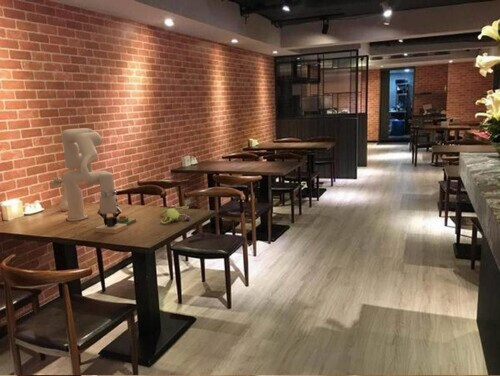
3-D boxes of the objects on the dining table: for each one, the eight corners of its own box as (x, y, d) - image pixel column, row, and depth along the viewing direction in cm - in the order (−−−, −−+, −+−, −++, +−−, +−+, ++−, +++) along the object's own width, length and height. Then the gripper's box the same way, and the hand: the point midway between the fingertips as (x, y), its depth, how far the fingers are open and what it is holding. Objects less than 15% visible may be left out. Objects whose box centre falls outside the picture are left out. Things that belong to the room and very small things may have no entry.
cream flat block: (95, 232, 243) (94, 227, 243) (107, 226, 254) (107, 222, 253) (115, 233, 239) (115, 229, 238) (127, 228, 249) (126, 223, 248)
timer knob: (105, 227, 244) (104, 218, 243) (108, 224, 248) (108, 216, 247) (113, 226, 243) (112, 218, 242) (116, 224, 248) (115, 216, 247)
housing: (109, 225, 257) (109, 219, 256) (119, 220, 266) (119, 215, 266) (126, 226, 253) (125, 220, 253) (136, 221, 262) (135, 216, 262)
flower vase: (62, 207, 310) (58, 173, 306) (82, 208, 304) (78, 174, 299) (48, 211, 298) (43, 176, 294) (69, 213, 292) (64, 177, 287)
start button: (118, 219, 258) (118, 216, 258) (121, 217, 261) (121, 214, 261) (123, 219, 257) (123, 216, 257) (126, 217, 260) (126, 215, 260)
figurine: (188, 212, 282) (188, 204, 281) (191, 222, 256) (191, 213, 255) (160, 214, 279) (160, 206, 278) (160, 225, 253) (159, 216, 252)
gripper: (124, 192, 245) (127, 222, 249) (96, 192, 246) (99, 223, 250) (119, 194, 238) (122, 226, 241) (90, 195, 239) (93, 226, 242)
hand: (110, 224), depth 246 cm, fingers closed on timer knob, 4 cm apart
